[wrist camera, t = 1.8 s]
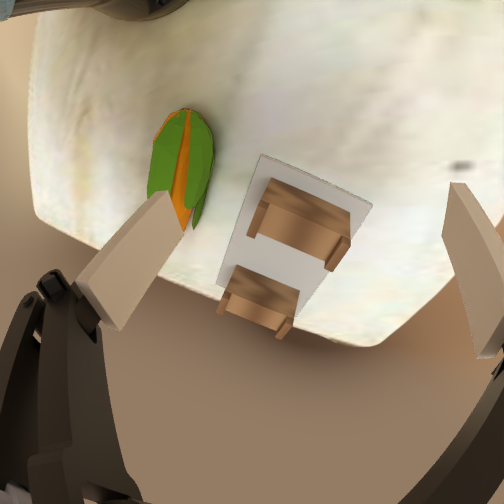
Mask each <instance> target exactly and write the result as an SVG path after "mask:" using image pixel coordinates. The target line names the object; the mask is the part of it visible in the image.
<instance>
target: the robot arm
mask: <svg viewBox="0 0 504 504" xmlns="http://www.w3.org/2000/svg"><path fill="white" fill-rule="evenodd" d="M187 1H188V0H0V21H5V20H7V18H11V17H15V16H20V15H25V14H31V13H37V12H44V11H51V10H60V9H70V8H82V7H91V8H93V9H95V10H98V11H100V12H102V13H104V14H106V15H108V16H111V17H113V18H116V19H120V20H127V21H143V20H151V19H155V18H159V17H162V16H164V15H167V14H169V13H171V12H173V11H174V10H176V9H178V8H179V7H181V6H182V5H183V4H185V3H186V2H187ZM183 236H184V234H183V231H182V228H181V226H180V223H179V220H178V218H177V215H176V212H175V209H174V207H173V204H172V201H171V198H170V195H169V192H168V190H165V191H156V192H155V193H154V194H153V195H152V196H151V197H150V198H149V199H148V200H147V201H146V202H145V203H144V204H143V205H142V206H141V207H140V208H139V209H138V210H137V211H136V212H135V213H134V214H133V215H132V216H131V217H130V218H129V219H128V220H127V221H126V222H125V223H124V224H123V226H122V227H121V228H120V229H119V230H118V231H117V232H116V233H115V234H114V235H113V236H112V238H111V239H110V240H109V241H108V242H107V243H106V244H105V245H104V246H103V248H102V249H101V250H100V251H99V252H98V253H97V255H96V256H95V257H94V258H93V259H92V260H91V261H90V263H89V264H88V265H87V266H86V267H85V269H84V270H83V271H82V272H81V273H80V275H79V276H78V277H77V278H76V280H75V281H74V282H73V283H72V285H71V286H70V285H69V284H68V282H67V281H66V279H65V277H64V276H63V274H62V273H61V271H60V270H58V269H54V270H51V271H49V272H48V273H46V274H45V275H44V276H43V277H42V278H41V279H40V280H39V281H38V283H37V285H36V286H37V288H38V290H39V291H40V292H41V294H42V295H43V297H44V298H45V299H42V298H41V296H40V295H39V293H38V292H36V291H33V292H31V293H28V294H27V295H25V296H24V298H23V299H22V300H21V302H20V304H19V306H18V308H17V310H16V312H15V315H14V317H13V319H12V322H11V324H10V326H9V329H8V332H7V334H6V336H5V339H4V342H3V344H2V347H1V350H0V504H84V500H83V498H85V499H88V500H91V501H94V502H96V503H98V504H151V503H147V502H143V499H142V496H141V493H140V491H139V488H138V486H137V484H136V483H135V481H134V480H133V479H132V478H131V477H130V476H129V474H128V473H127V471H126V469H125V466H124V462H123V458H122V455H121V451H120V447H119V442H118V438H117V433H116V429H115V424H114V419H113V414H112V408H111V404H110V397H109V392H108V384H107V378H106V370H105V362H104V354H103V344H102V333H101V328H100V327H99V325H98V323H99V321H100V320H102V321H103V322H104V324H105V325H106V326H107V328H109V329H113V330H117V331H121V330H122V328H123V327H124V325H125V323H126V322H127V320H128V319H129V317H130V315H131V314H132V312H133V311H134V309H135V307H136V306H137V304H138V303H139V301H140V300H141V298H142V297H143V295H144V293H145V292H146V290H147V289H148V287H149V286H150V284H151V282H152V281H153V280H154V278H155V277H156V275H157V274H158V272H159V271H160V269H161V268H162V266H163V265H164V263H165V262H166V260H167V259H168V257H169V256H170V254H171V253H172V251H173V250H174V249H175V247H176V246H177V244H178V243H179V241H180V240H181V238H182V237H183ZM442 238H443V241H444V244H445V246H446V249H447V252H448V255H449V257H450V260H451V263H452V266H453V269H454V272H455V275H456V278H457V282H458V285H459V288H460V291H461V295H462V298H463V301H464V306H465V309H466V313H467V317H468V321H469V325H470V330H471V334H472V339H473V343H474V348H475V354H476V358H477V359H484V358H493V357H495V356H496V355H497V353H498V352H499V350H500V349H501V347H502V348H503V352H504V244H503V242H502V240H501V238H500V237H499V235H498V233H497V231H496V230H495V228H494V226H493V225H492V223H491V221H490V220H489V218H488V216H487V215H486V213H485V212H484V210H483V209H482V207H481V206H480V204H479V202H478V201H477V199H476V198H475V197H474V195H473V194H472V192H471V191H470V189H469V188H468V187H467V185H466V184H465V183H452V182H450V188H449V195H448V202H447V208H446V214H445V220H444V225H443V231H442ZM34 330H35V331H36V332H37V333H38V335H39V336H40V337H41V343H39V342H38V341H37V340H36V339H35V337H34V336H33V333H34ZM491 374H492V375H493V377H492V379H491V381H490V383H489V385H488V386H487V388H486V390H485V392H484V393H483V395H482V397H481V398H480V400H479V402H478V403H477V405H476V407H475V408H474V410H473V412H472V413H471V415H470V416H469V418H468V419H467V421H466V422H465V424H464V425H463V427H462V428H461V430H460V431H459V432H458V434H457V435H456V437H455V438H454V439H453V441H452V442H451V443H450V445H449V446H448V448H447V449H446V450H445V451H444V453H443V454H442V455H441V456H440V458H439V459H438V460H437V461H436V463H435V464H434V465H433V466H432V467H431V469H430V470H429V471H428V472H427V473H426V474H425V475H424V477H423V478H422V479H421V480H420V481H419V482H418V483H417V484H416V486H415V487H414V488H413V489H412V490H411V491H410V492H409V493H408V494H407V495H406V496H405V497H404V498H403V499H402V500H401V501H400V502H399V503H398V504H487V503H488V501H489V500H490V499H491V497H492V496H493V494H494V493H495V491H496V490H497V488H498V487H499V485H500V484H501V482H502V480H503V479H504V358H503V359H502V360H501V362H500V363H499V364H498V366H497V367H496V368H495V370H494V371H493V372H492V373H491Z"/></svg>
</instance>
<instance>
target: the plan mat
mask: <svg viewBox="0 0 504 504" xmlns="http://www.w3.org/2000/svg"><path fill="white" fill-rule="evenodd" d="M271 177H272V178H275V179H277V180H280V181H282V182H284V183H287V184H289V185H291V186H294V187H296V188H298V189H300V190H303V191H305V192H307V193H310V194H312V195H314V196H316V197H318V198H321V199H323V200H325V201H327V202H329V203H331V204H334V205H336V206H338V207H340V208H342V209H344V210H346V211H348V212H350V235H351V239H352V238H353V236H354V235H355V233H356V232H357V230H358V229H359V227H360V226H361V224H362V223H363V221H364V220H365V218H366V216H367V215H368V213H369V212H370V210H371V209H372V207H373V205H372V204H371V203H369V202H367V201H365V200H363V199H361V198H359V197H357V196H355V195H353V194H351V193H349V192H347V191H345V190H343V189H341V188H339V187H337V186H335V185H333V184H330V183H328V182H326V181H324V180H322V179H320V178H317V177H315V176H313V175H311V174H308V173H306V172H304V171H302V170H299V169H297V168H295V167H292V166H290V165H288V164H285V163H283V162H281V161H278V160H276V159H273V158H271V157H268V156H266V155H264V154H262V155H261V156H260V159H259V162H258V165H257V167H256V170H255V173H254V176H253V178H252V181H251V184H250V187H249V189H248V192H247V195H246V198H245V201H244V203H243V206H242V209H241V212H240V215H239V217H238V220H237V223H236V226H235V229H234V232H233V235H232V237H231V240H230V243H229V246H228V249H227V252H226V255H225V258H224V261H223V263H222V266H221V269H220V272H219V275H218V278H217V281H216V284H217V285H219V286H221V287H224V288H226V287H227V285H228V283H229V280H230V278H231V276H232V274H233V272H234V269H235V267H236V265H237V264H238V265H240V266H242V267H245V268H247V269H249V270H252V271H254V272H256V273H259V274H261V275H264V276H266V277H268V278H271V279H273V280H276V281H278V282H280V283H283V284H285V285H288V286H290V287H292V288H295V289H297V290H300V293H299V298H298V302H297V307H296V312H295V316H294V317H297V315H298V314H299V313H300V311H301V310H302V309H303V307H304V306H305V305H306V303H307V302H308V300H309V299H310V298H311V296H312V295H313V294H314V292H315V291H316V290H317V288H318V287H319V285H320V284H321V283H322V281H323V280H324V278H325V277H326V276H327V274H328V273H329V271H328V270H326V269H324V265H325V261H322V260H320V259H318V258H315V257H313V256H311V255H309V254H306V253H304V252H302V251H299V250H297V249H295V248H292V247H290V246H288V245H285V244H283V243H281V242H278V241H276V240H274V239H271V238H269V237H267V236H264V235H262V234H260V233H257V235H256V237H255V239H253V238H251V237H248V236H246V234H247V231H248V228H249V226H250V223H251V221H252V218H253V216H254V213H255V211H256V208H257V206H258V203H259V201H260V199H261V197H262V195H263V193H264V191H265V189H266V187H267V185H268V183H269V181H270V179H271Z"/></svg>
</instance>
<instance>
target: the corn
mask: <svg viewBox="0 0 504 504" xmlns="http://www.w3.org/2000/svg"><path fill="white" fill-rule="evenodd" d="M192 111H193V110H191V111H190V110H189V109H186V108H185V109H184V108H183V109H181V110H179V111H177V112H174V113H171V114H170V115H169V117H168V118H167V119H166V121H165V122H164V124H163V125H162V127H161V128H160V130H159V132H158V133H157V135H156V137H155V139H154V141H153V152H152V158H151V165H150V172H149V179H148V186H147V199H149V198H150V197H151V196H152V195H153V194H154V193H155V192H156V191H165V190H168V192H169V195H170V198H171V201H172V204H173V207H174V209H175V212H176V215H177V218H178V220H179V223H180V226H181V228H182V231H183V232H184V230H185V228H186V225H187V222H188V220H189V217H190V214H191V211H192V208H193V207H195V205H196V208H195V212H194V216H193V221H192V227H193V230H194V229H195V227H196V225H197V223H198V220H199V218H200V216H201V212H202V208H203V205H204V201H205V197H206V193H207V189H208V185H209V181H210V177H211V173H212V169H213V165H214V153H215V152H214V146H213V139H212V133H211V131H210V129H209V128H208V126H207V125H206V123H205V122H204V120H203V119H202V117H201V116H200V114H199V113H197V112H195V111H193V112H194V113H193V112H192ZM201 119H202V120H203V121H202V120H201ZM203 122H204V123H203Z"/></svg>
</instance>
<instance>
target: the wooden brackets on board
mask: <svg viewBox="0 0 504 504" xmlns="http://www.w3.org/2000/svg"><path fill="white" fill-rule="evenodd" d="M257 233H260V234H262V235H264V236H267V237H269V238H271V239H274V240H276V241H278V242H281V243H283V244H285V245H288V246H290V247H292V248H295V249H297V250H299V251H302V252H304V253H306V254H309V255H311V256H313V257H315V258H318V259H320V260H322V261H325V265H324V269H326V270H328V271H330V272H333V271H334V269H335V268H336V267H337V265H338V264H339V262H340V261H341V259H342V258H343V257H344V255H345V254H346V252H347V251H348V249H349V248H350V246H351V235H350V212H348V211H346V210H344V209H342V208H340V207H338V206H336V205H334V204H331V203H329V202H327V201H325V200H323V199H321V198H318V197H316V196H314V195H312V194H310V193H307V192H305V191H303V190H300V189H298V188H296V187H294V186H291V185H289V184H287V183H284V182H282V181H280V180H277V179H275V178H272V177H271V179H270V181H269V183H268V185H267V187H266V189H265V191H264V193H263V195H262V197H261V199H260V201H259V203H258V206H257V208H256V211H255V213H254V216H253V218H252V221H251V223H250V226H249V228H248V231H247V234H246V236H248V237H251V238H253V239H255V237H256V235H257ZM299 293H300V290H297V289H295V288H292V287H290V286H288V285H285V284H283V283H280V282H278V281H276V280H273V279H271V278H268V277H266V276H264V275H261V274H259V273H256V272H254V271H252V270H249V269H247V268H245V267H242V266H240V265H238V264H237V265H236V267H235V269H234V272H233V274H232V276H231V278H230V280H229V283H228V285H227V287H226V289H225V291H224V294H223V296H222V298H221V301H220V304H219V306H218V309H217V312H216V314H218V315H221V316H222V315H223V313H224V311H225V310H227V311H229V312H231V313H234V314H236V315H239V316H241V317H243V318H246V319H248V320H251V321H253V322H256V323H258V324H261V325H263V326H266V327H268V328H271V329H273V330H276V335H275V338H278V339H280V340H282V338H283V337H284V336H285V335H286V333H287V332H288V331H289V330H290V328H291V327H292V326H293V321H294V316H295V312H296V307H297V302H298V298H299Z"/></svg>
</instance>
